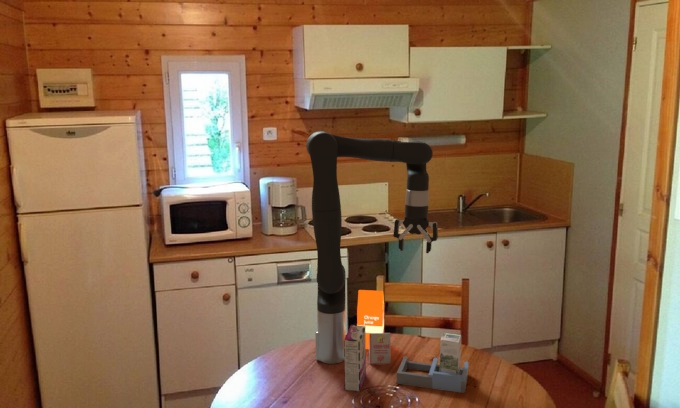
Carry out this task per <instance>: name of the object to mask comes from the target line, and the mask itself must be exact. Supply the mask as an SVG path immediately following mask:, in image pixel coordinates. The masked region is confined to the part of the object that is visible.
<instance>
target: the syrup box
mask: <svg viewBox="0 0 680 408" xmlns="http://www.w3.org/2000/svg"><path fill="white" fill-rule="evenodd" d="M439 343H440V346H439V365H440V370H439V372H443V373H450V374H458V375H460V368H461V352H462V351H461V350H462V334H455V333H454V334H453V333H447V332H443V333H442V334H441V337H440V342H439Z"/></svg>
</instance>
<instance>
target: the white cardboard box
mask: <svg viewBox="0 0 680 408" xmlns="http://www.w3.org/2000/svg"><path fill="white" fill-rule="evenodd" d="M391 344H392V343H391V332H384V333H370V336H369V349H368V361H369V365H391V357H392V356H391V352H392V351H391V349H392V345H391Z"/></svg>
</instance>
